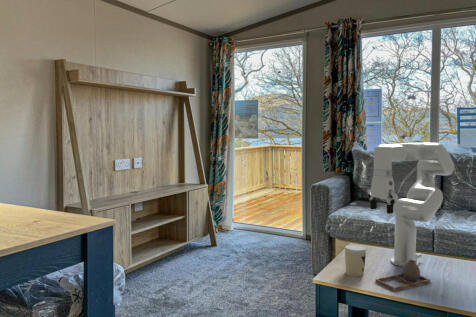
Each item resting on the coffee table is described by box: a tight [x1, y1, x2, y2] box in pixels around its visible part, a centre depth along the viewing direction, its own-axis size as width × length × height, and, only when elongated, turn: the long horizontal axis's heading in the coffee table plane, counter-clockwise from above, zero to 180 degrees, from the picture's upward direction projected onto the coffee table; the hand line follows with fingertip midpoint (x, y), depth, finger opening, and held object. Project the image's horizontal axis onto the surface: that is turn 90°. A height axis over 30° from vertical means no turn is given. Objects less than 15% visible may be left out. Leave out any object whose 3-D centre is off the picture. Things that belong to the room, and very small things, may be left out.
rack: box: [375, 272, 431, 292], centre depth 165 cm, size 21×13×2 cm, turn 115°
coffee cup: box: [344, 244, 367, 277], centre depth 174 cm, size 9×9×12 cm
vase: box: [402, 260, 421, 283], centre depth 166 cm, size 7×7×9 cm
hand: (381, 211), depth 173 cm, fingers open, 9 cm apart
